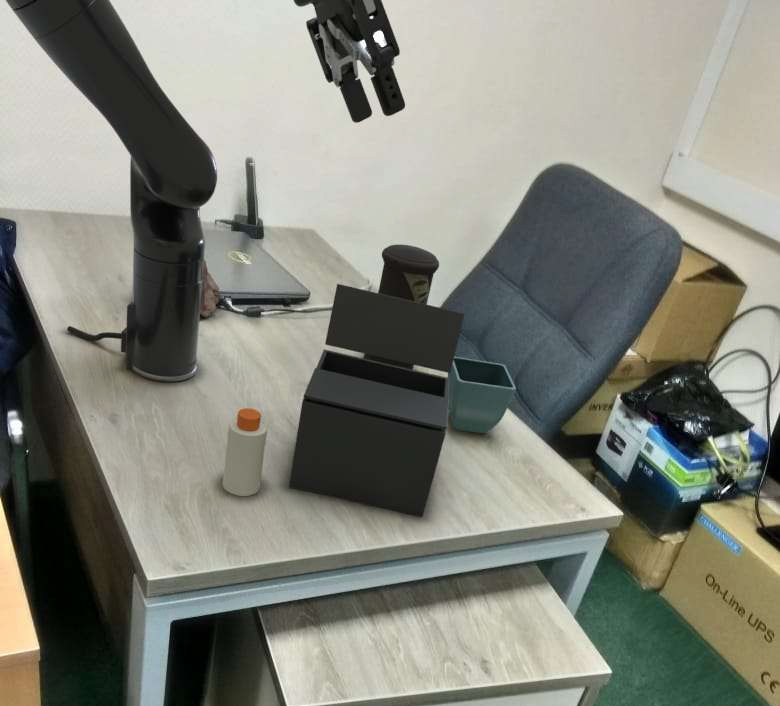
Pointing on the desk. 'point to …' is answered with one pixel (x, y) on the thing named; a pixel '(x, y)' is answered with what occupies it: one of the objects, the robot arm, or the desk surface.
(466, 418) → the flower pot
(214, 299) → the mineral specimen
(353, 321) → the flap
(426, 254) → the container
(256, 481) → the orange-capped white cylinder
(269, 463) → the desk surface
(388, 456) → the carton
